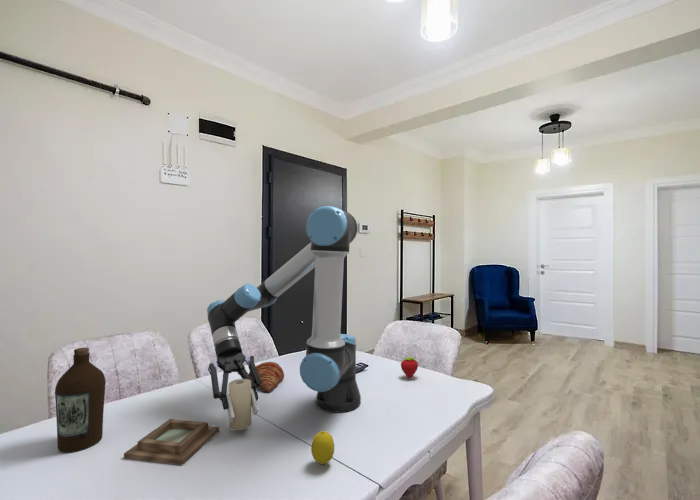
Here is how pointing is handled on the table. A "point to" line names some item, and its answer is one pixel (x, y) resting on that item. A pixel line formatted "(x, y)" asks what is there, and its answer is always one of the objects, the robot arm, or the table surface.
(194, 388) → the table surface
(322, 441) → the lemon
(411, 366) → the strawberry
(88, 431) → the brown bottle
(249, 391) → the kraft paper roll
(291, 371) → the table surface
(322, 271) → the robot arm
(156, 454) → the walnut roll stand
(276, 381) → the pastry
